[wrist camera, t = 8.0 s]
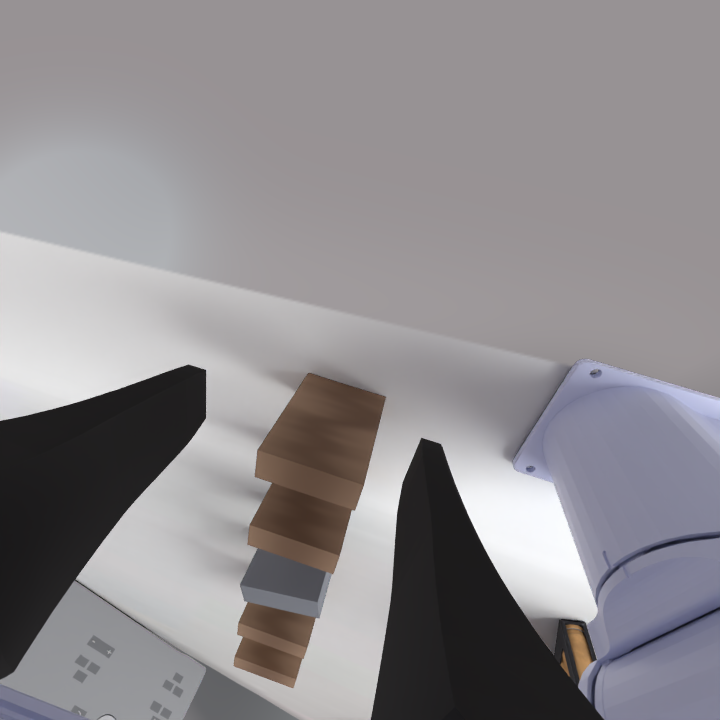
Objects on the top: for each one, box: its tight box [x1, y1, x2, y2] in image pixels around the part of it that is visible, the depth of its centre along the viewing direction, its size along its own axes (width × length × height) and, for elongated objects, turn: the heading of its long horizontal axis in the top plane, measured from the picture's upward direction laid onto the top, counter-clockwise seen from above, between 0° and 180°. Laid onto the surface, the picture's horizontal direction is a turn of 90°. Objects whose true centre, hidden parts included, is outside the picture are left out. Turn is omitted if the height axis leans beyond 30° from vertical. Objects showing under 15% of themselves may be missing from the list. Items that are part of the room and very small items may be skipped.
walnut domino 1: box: [255, 373, 386, 510], centre depth 19 cm, size 5×2×7 cm, turn 77°
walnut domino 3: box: [237, 602, 316, 659], centre depth 28 cm, size 5×2×7 cm, turn 77°
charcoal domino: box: [240, 548, 331, 618], centre depth 25 cm, size 5×2×7 cm, turn 90°
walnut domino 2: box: [247, 483, 352, 574], centre depth 22 cm, size 5×2×7 cm, turn 77°
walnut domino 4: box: [234, 637, 302, 688], centre depth 31 cm, size 5×2×7 cm, turn 77°
